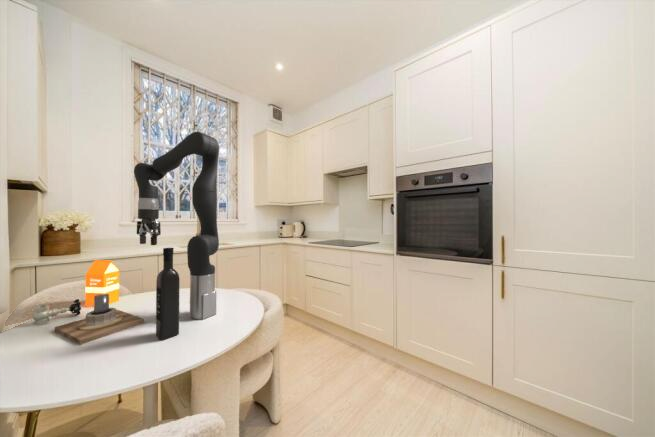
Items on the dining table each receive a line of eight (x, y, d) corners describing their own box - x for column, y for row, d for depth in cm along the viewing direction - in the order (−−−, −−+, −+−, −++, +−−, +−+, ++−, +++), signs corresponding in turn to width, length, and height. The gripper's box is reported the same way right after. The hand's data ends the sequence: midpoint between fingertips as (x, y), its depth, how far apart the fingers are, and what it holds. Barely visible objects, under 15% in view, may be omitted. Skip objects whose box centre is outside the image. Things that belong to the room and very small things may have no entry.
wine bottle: (161, 341, 78) (162, 249, 78) (154, 336, 82) (155, 248, 82) (180, 334, 83) (180, 248, 83) (173, 329, 86) (174, 246, 86)
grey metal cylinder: (111, 318, 90) (111, 293, 90) (103, 323, 86) (103, 296, 86) (99, 319, 90) (99, 293, 90) (90, 323, 86) (91, 297, 86)
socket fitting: (144, 322, 92) (144, 308, 92) (80, 344, 76) (80, 327, 76) (117, 313, 100) (117, 300, 100) (54, 331, 84) (54, 315, 84)
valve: (34, 328, 87) (81, 316, 97) (34, 310, 87) (81, 300, 97) (31, 323, 90) (76, 313, 100) (31, 306, 90) (76, 297, 100)
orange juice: (103, 306, 108) (103, 262, 108) (84, 305, 108) (85, 261, 108) (119, 300, 115) (119, 259, 115) (102, 300, 116) (102, 258, 116)
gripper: (130, 208, 108) (129, 244, 108) (148, 208, 102) (148, 246, 102) (148, 209, 115) (148, 242, 115) (166, 208, 108) (166, 244, 108)
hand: (148, 244), depth 108 cm, fingers open, 8 cm apart
